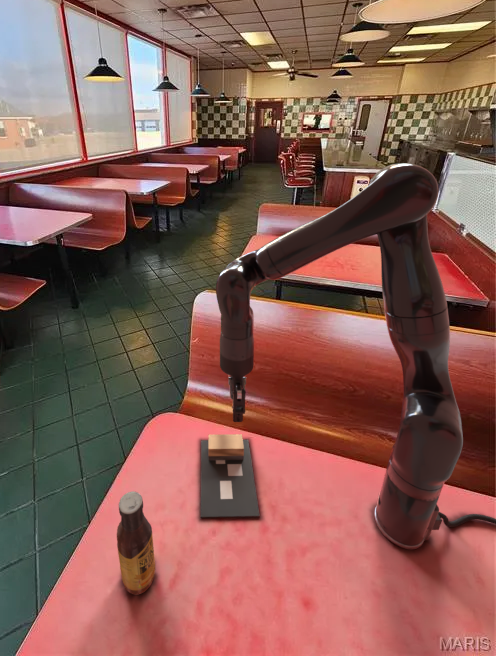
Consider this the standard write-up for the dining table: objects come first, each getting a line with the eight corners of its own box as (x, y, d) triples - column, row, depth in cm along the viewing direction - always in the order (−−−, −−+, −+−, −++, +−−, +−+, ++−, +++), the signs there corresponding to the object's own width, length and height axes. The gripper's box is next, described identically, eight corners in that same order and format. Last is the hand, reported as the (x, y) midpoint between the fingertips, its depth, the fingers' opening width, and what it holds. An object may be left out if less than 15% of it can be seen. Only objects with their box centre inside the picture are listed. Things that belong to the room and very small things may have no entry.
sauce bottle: (149, 600, 59) (139, 529, 52) (116, 592, 60) (103, 521, 53) (160, 558, 65) (154, 489, 58) (131, 551, 66) (121, 483, 59)
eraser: (241, 445, 89) (242, 434, 87) (243, 460, 85) (243, 448, 83) (208, 445, 89) (208, 434, 87) (208, 460, 85) (208, 449, 83)
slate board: (248, 440, 91) (248, 439, 91) (259, 517, 72) (259, 516, 72) (201, 441, 91) (201, 440, 91) (200, 518, 72) (200, 516, 72)
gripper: (258, 369, 66) (256, 430, 71) (249, 331, 79) (248, 386, 85) (221, 370, 66) (221, 431, 71) (218, 332, 79) (219, 386, 85)
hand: (236, 406), depth 78 cm, fingers open, 8 cm apart
